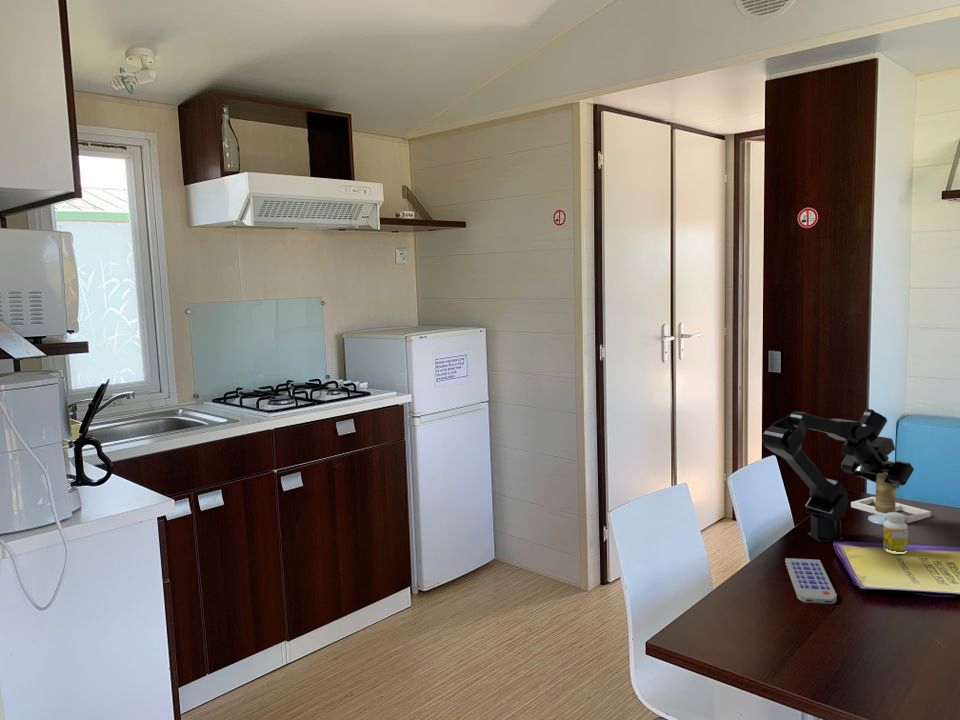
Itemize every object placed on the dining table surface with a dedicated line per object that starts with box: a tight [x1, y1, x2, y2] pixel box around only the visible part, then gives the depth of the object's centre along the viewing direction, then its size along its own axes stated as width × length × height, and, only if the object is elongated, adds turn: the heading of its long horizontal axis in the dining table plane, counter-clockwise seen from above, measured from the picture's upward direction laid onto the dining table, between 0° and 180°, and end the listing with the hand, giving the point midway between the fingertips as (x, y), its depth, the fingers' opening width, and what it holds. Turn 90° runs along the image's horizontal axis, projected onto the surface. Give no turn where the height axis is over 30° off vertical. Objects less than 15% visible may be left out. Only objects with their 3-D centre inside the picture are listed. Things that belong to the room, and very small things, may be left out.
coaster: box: [867, 514, 906, 526], centre depth 211 cm, size 9×9×1 cm
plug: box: [874, 460, 897, 514], centre depth 210 cm, size 5×5×14 cm
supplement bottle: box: [883, 512, 909, 552], centre depth 188 cm, size 5×5×10 cm
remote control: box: [784, 557, 838, 605], centre depth 172 cm, size 8×23×2 cm, turn 165°
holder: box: [850, 496, 932, 524], centre depth 218 cm, size 10×18×2 cm, turn 26°
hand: (889, 485), depth 210 cm, fingers closed on plug, 5 cm apart
